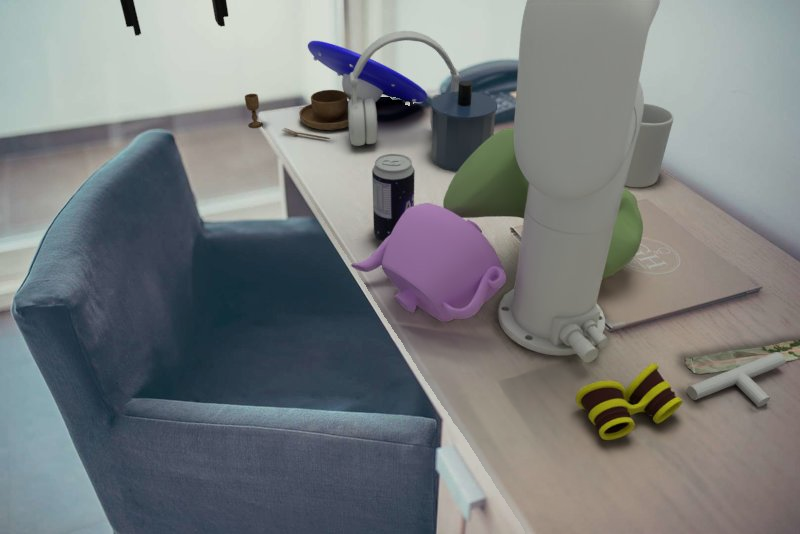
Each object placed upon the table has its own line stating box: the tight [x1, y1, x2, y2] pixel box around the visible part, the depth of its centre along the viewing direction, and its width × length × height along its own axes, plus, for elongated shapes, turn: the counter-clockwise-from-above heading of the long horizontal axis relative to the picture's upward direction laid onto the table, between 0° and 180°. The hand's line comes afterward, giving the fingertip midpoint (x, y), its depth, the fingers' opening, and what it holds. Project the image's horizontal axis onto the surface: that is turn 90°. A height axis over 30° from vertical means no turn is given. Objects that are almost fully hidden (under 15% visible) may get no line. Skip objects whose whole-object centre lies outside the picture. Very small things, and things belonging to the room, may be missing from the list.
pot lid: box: [430, 80, 498, 120], centre depth 106 cm, size 11×11×5 cm
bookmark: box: [684, 339, 800, 375], centre depth 73 cm, size 3×21×1 cm, turn 101°
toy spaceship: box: [307, 40, 428, 104], centre depth 125 cm, size 25×25×7 cm
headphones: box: [347, 30, 462, 147], centre depth 112 cm, size 20×8×19 cm, turn 97°
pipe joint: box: [686, 352, 786, 408], centre depth 68 cm, size 12×2×4 cm
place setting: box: [244, 89, 349, 140], centre depth 125 cm, size 18×20×6 cm
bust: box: [442, 127, 644, 280], centre depth 81 cm, size 14×15×25 cm
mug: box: [624, 103, 674, 188], centre depth 104 cm, size 12×8×11 cm
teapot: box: [350, 202, 507, 322], centre depth 77 cm, size 20×13×12 cm
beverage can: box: [371, 153, 415, 243], centre depth 89 cm, size 6×6×12 cm
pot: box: [430, 110, 497, 173], centre depth 110 cm, size 10×10×10 cm
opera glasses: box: [575, 362, 684, 441], centre depth 65 cm, size 10×5×5 cm, turn 112°
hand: (179, 27), depth 77 cm, fingers open, 9 cm apart
